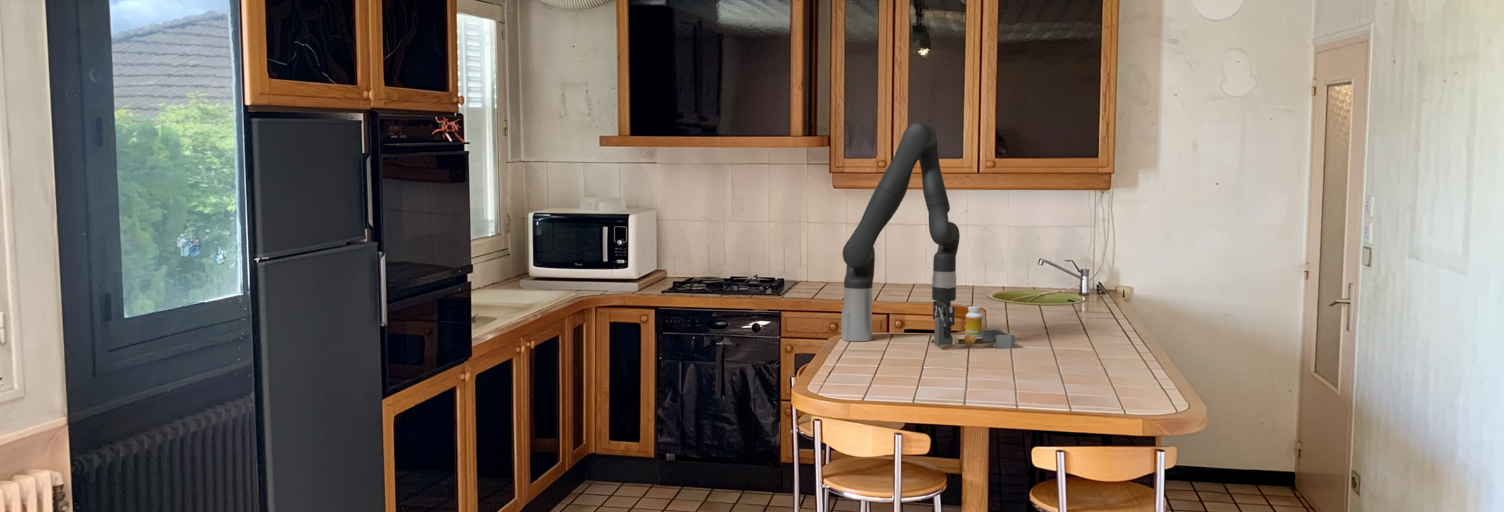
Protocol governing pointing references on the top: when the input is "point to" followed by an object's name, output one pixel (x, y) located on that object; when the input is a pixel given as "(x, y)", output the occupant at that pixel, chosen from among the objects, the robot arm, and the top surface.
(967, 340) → the ball
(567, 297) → the top surface
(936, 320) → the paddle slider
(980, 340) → the lane
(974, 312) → the supplement bottle
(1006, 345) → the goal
